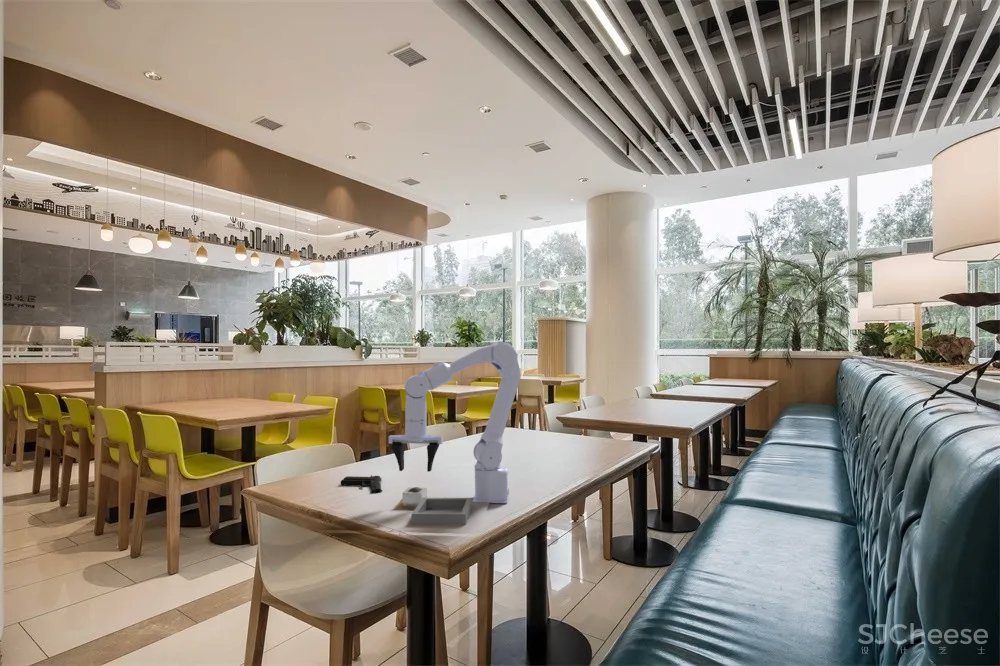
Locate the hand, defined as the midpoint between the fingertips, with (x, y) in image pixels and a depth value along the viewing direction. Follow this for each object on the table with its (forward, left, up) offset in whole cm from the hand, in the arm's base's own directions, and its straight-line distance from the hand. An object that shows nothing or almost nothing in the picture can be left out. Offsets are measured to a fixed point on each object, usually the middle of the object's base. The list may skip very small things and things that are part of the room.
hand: (415, 470), depth 134 cm
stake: (0, 0, -10) cm, 10 cm away
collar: (0, 0, -9) cm, 9 cm away
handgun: (+21, -18, -10) cm, 29 cm away
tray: (-9, +9, -10) cm, 16 cm away
